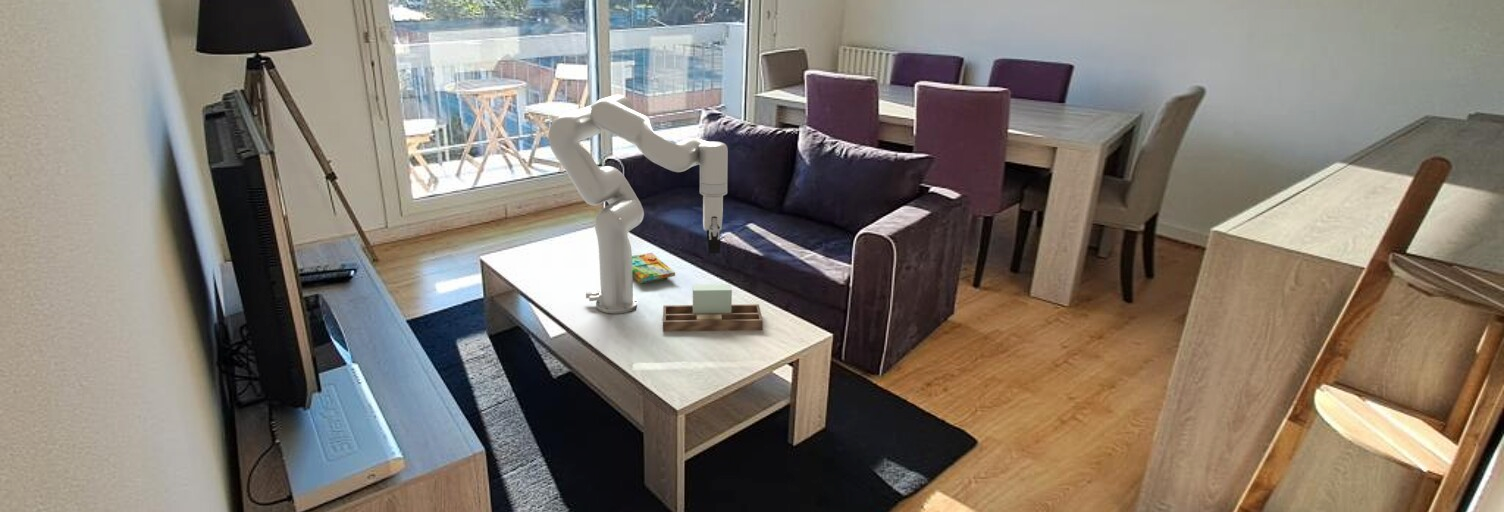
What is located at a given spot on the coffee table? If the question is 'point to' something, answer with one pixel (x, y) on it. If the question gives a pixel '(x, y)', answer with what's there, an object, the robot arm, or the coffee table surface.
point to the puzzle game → (649, 268)
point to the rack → (736, 320)
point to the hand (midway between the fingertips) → (713, 246)
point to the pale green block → (712, 299)
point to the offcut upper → (709, 317)
